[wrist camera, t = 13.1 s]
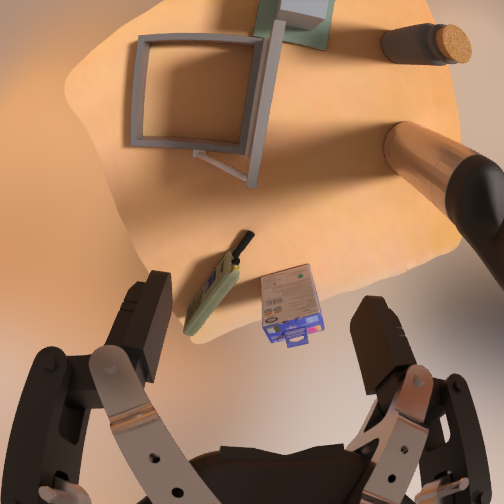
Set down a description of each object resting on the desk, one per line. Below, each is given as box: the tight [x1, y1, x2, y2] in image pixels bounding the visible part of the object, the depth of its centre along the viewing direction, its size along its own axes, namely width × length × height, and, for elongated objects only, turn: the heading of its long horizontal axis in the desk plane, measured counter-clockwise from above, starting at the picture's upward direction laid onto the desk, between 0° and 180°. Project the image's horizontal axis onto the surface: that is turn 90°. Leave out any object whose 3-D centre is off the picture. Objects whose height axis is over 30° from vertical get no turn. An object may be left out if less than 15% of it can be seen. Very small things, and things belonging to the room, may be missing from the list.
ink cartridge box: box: [261, 264, 324, 348], centre depth 47 cm, size 10×6×14 cm, turn 110°
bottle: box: [381, 23, 472, 66], centre depth 21 cm, size 6×6×15 cm
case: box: [130, 20, 286, 189], centre depth 27 cm, size 18×18×14 cm
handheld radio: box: [183, 231, 255, 336], centre depth 50 cm, size 7×3×25 cm
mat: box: [253, 0, 335, 51], centre depth 25 cm, size 10×12×1 cm
